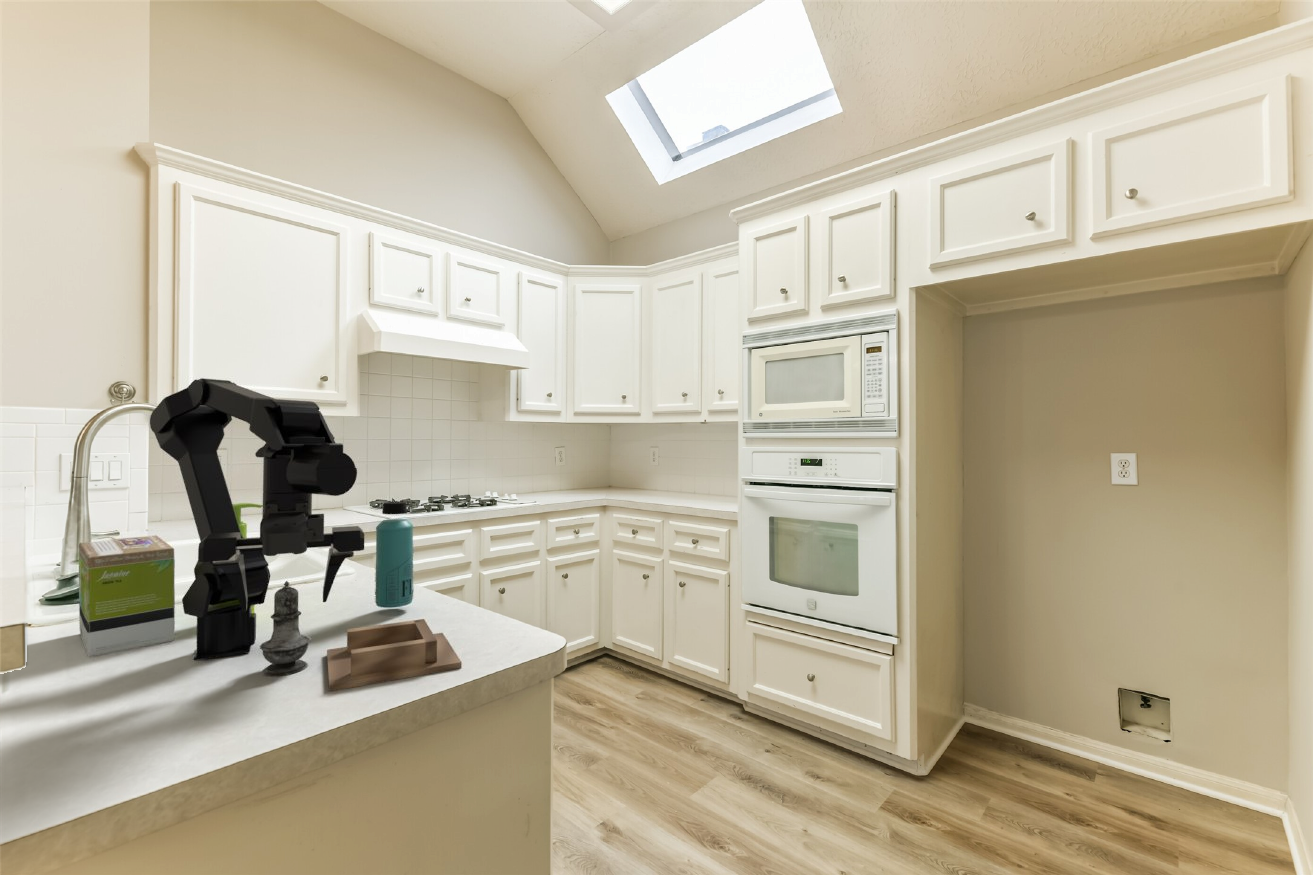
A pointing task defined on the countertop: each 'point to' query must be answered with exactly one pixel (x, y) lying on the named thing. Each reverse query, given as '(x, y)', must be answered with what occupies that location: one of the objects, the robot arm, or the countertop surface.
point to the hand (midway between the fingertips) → (285, 605)
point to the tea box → (126, 594)
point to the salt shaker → (285, 636)
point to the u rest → (389, 654)
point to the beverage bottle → (394, 559)
